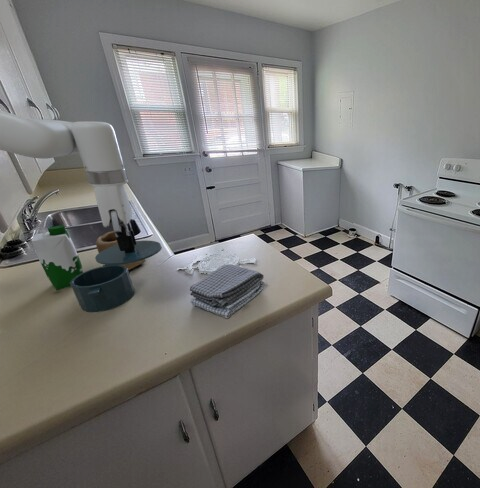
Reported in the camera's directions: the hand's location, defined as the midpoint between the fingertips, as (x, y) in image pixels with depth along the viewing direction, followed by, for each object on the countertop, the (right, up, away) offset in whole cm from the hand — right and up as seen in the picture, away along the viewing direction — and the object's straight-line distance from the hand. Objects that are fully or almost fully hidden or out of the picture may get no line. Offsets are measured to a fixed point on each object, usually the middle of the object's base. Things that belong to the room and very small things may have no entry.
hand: (128, 247), depth 72 cm
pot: (-16, -16, +13) cm, 26 cm away
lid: (0, -1, +1) cm, 2 cm away
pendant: (+11, -8, +34) cm, 36 cm away
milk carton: (-36, -13, +22) cm, 44 cm away
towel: (+22, -16, +14) cm, 31 cm away
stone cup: (-23, -9, +31) cm, 40 cm away
